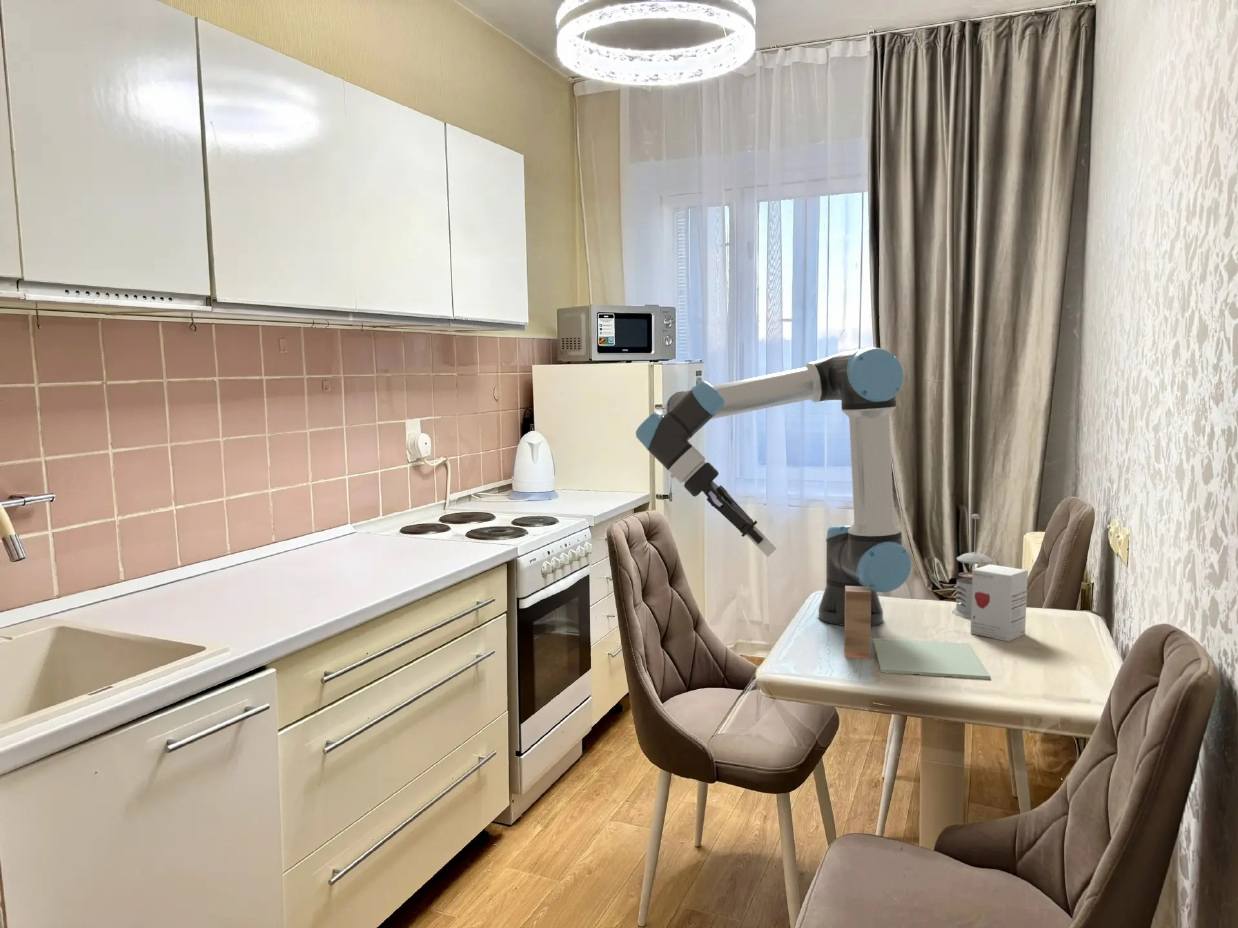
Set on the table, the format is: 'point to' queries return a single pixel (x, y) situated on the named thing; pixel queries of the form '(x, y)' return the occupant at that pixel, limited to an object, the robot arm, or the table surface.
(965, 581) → the french press
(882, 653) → the mat
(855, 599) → the walnut block
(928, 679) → the table surface
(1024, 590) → the supplement box
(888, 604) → the table surface
